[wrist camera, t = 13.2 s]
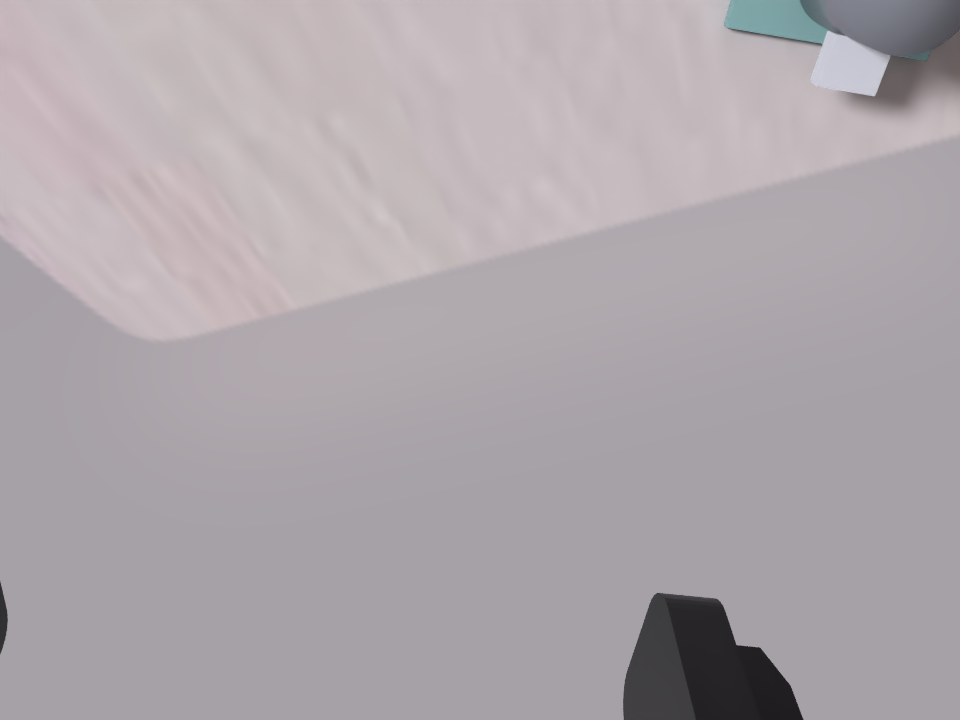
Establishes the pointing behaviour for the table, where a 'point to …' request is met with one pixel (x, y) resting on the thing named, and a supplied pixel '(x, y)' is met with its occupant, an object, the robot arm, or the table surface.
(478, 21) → the table surface
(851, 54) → the grey lobed figure
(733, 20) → the mat
